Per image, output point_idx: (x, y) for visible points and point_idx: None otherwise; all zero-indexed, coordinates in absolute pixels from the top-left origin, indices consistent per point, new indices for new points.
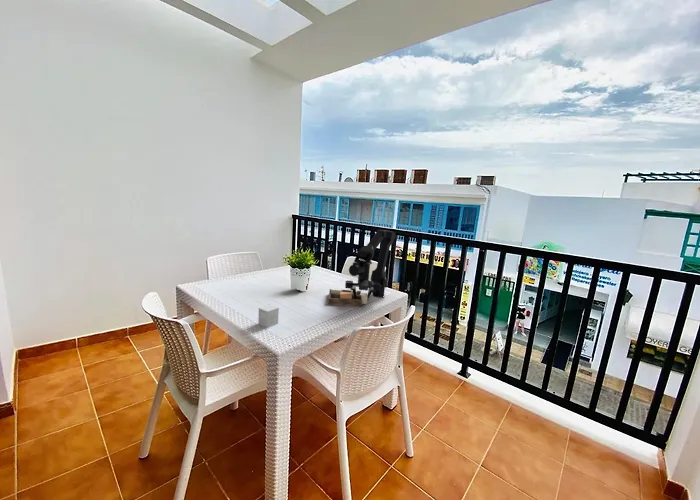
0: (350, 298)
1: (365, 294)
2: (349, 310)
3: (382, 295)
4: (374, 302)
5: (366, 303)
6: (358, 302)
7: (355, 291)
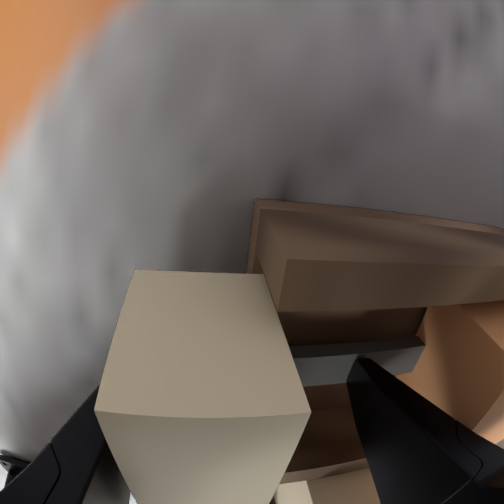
0: (492, 326)
1: (175, 498)
2: (480, 41)
3: (16, 475)
4: (40, 378)
5: (147, 271)
6: (363, 236)
7: (494, 484)
